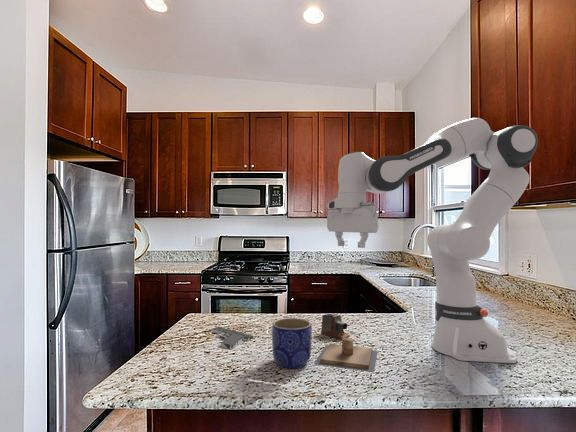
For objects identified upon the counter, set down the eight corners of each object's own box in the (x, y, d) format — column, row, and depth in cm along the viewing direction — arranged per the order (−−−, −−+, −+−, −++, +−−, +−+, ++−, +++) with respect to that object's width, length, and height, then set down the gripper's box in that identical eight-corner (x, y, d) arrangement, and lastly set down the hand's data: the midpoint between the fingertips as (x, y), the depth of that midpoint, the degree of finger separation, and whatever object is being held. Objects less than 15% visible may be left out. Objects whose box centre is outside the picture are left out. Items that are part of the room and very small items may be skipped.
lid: (372, 351, 101) (372, 335, 101) (368, 369, 88) (368, 349, 88) (329, 346, 105) (329, 330, 105) (320, 362, 92) (320, 344, 92)
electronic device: (342, 342, 111) (342, 318, 111) (320, 335, 117) (320, 313, 118) (350, 338, 114) (350, 316, 114) (328, 332, 121) (328, 311, 121)
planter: (266, 359, 95) (266, 320, 96) (301, 354, 99) (301, 316, 100) (280, 375, 85) (280, 331, 86) (318, 368, 89) (318, 326, 90)
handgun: (192, 339, 114) (218, 330, 124) (231, 351, 103) (257, 340, 113) (192, 334, 114) (218, 326, 124) (231, 345, 103) (257, 335, 113)
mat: (377, 352, 101) (377, 350, 102) (374, 373, 86) (374, 372, 86) (325, 345, 107) (325, 344, 107) (313, 365, 91) (313, 364, 91)
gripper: (383, 202, 99) (382, 248, 99) (338, 205, 117) (337, 245, 116) (368, 200, 96) (367, 249, 95) (324, 204, 113) (323, 245, 113)
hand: (350, 246), depth 106 cm, fingers open, 8 cm apart
